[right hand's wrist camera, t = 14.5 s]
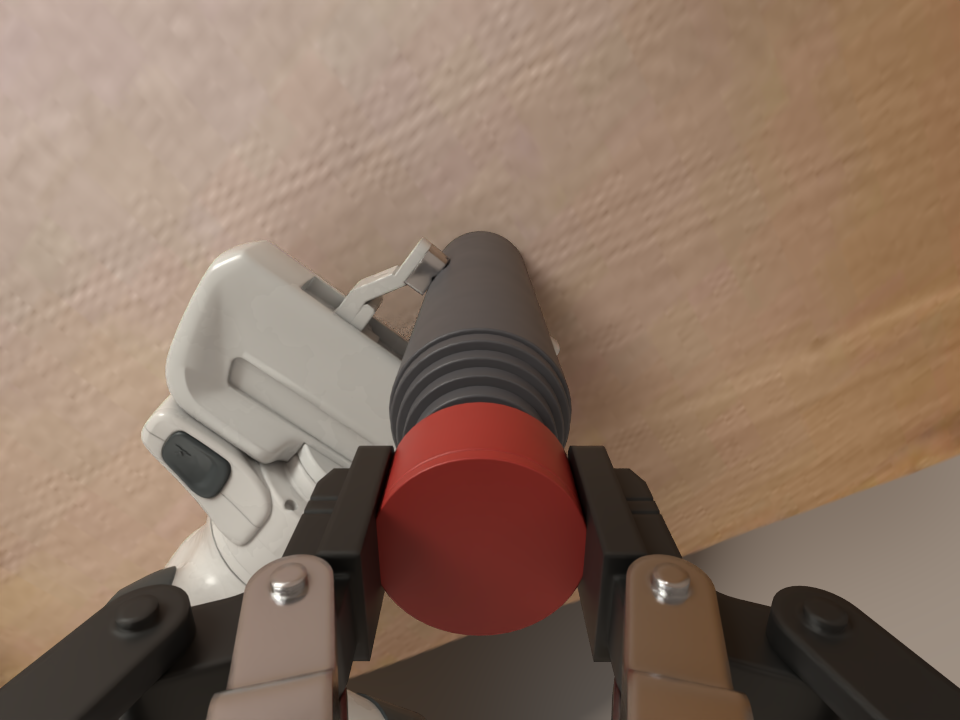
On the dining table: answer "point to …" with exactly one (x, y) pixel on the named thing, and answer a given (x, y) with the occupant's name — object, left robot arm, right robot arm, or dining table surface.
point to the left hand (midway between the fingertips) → (492, 292)
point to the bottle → (480, 342)
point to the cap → (480, 521)
